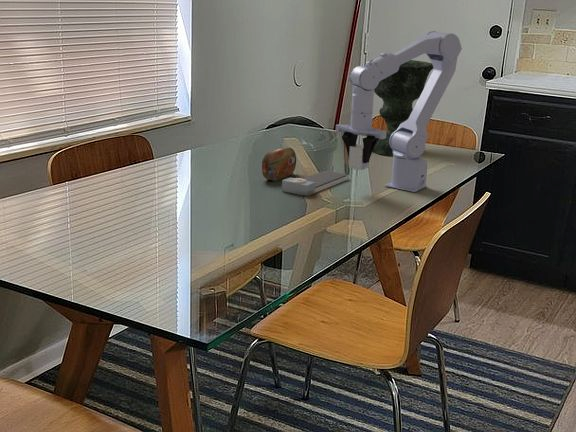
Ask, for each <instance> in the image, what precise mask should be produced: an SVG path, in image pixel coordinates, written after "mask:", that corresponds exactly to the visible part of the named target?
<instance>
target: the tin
mask: <svg viewBox="0 0 576 432" xmlns="http://www.w3.org/2000/svg"><path fill="white" fill-rule="evenodd" d="M296 164H297V155H296V152H295V150H294V149H293V148H292V147H281V148H278V149H275V150H272V151H268V152H266V154H265V155H264V156H263V159H262V161H261V171H262V176H263V177H264V178H265V180H268V181H273V182H276V181H280V180H281V179H282V180H283V179H286V178H288V177H289V176H292V174H293V173H294V172H295V169H296V166H297V165H296Z"/></svg>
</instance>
